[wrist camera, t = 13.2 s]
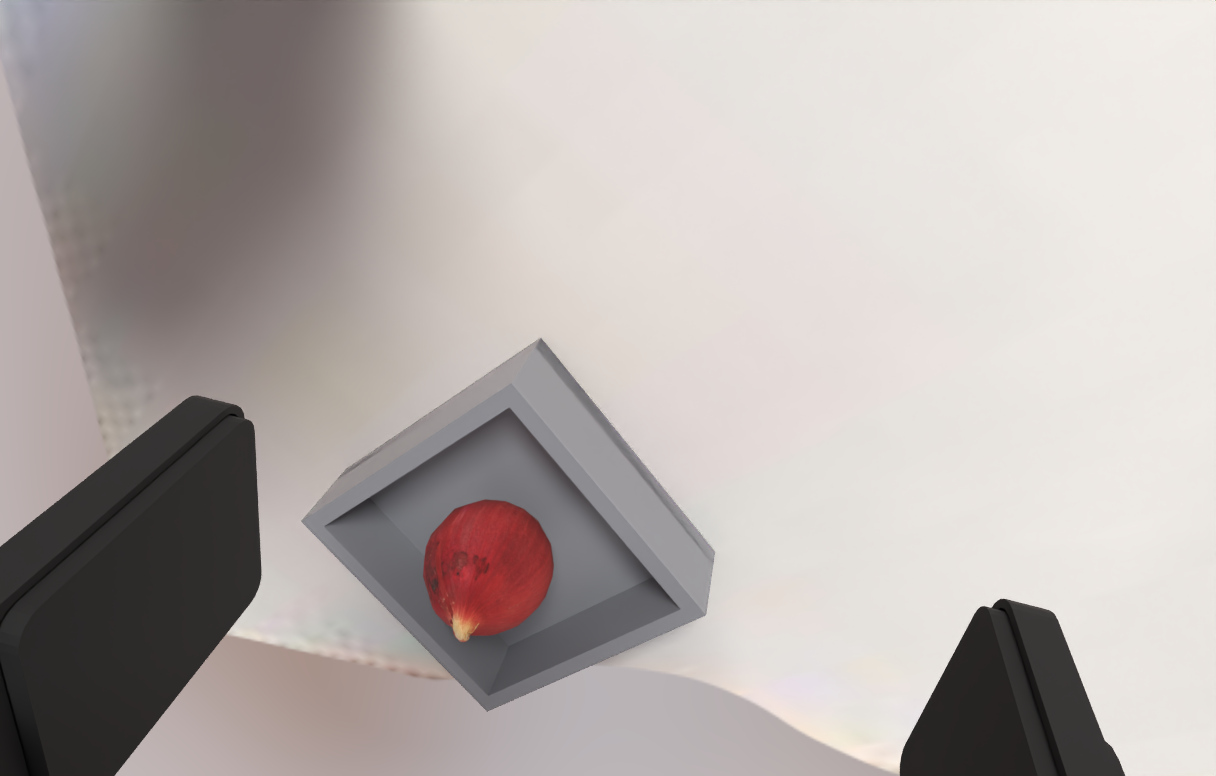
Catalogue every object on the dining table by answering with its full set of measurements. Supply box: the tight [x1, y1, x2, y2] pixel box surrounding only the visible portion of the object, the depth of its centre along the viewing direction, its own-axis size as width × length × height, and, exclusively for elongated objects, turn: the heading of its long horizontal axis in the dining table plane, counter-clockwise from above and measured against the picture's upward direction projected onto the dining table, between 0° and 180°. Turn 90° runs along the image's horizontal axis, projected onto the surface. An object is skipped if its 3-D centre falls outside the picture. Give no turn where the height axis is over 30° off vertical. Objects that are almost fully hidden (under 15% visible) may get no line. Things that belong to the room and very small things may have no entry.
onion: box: [423, 499, 554, 642], centre depth 38 cm, size 6×6×8 cm
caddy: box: [301, 338, 715, 711], centre depth 41 cm, size 14×14×4 cm
